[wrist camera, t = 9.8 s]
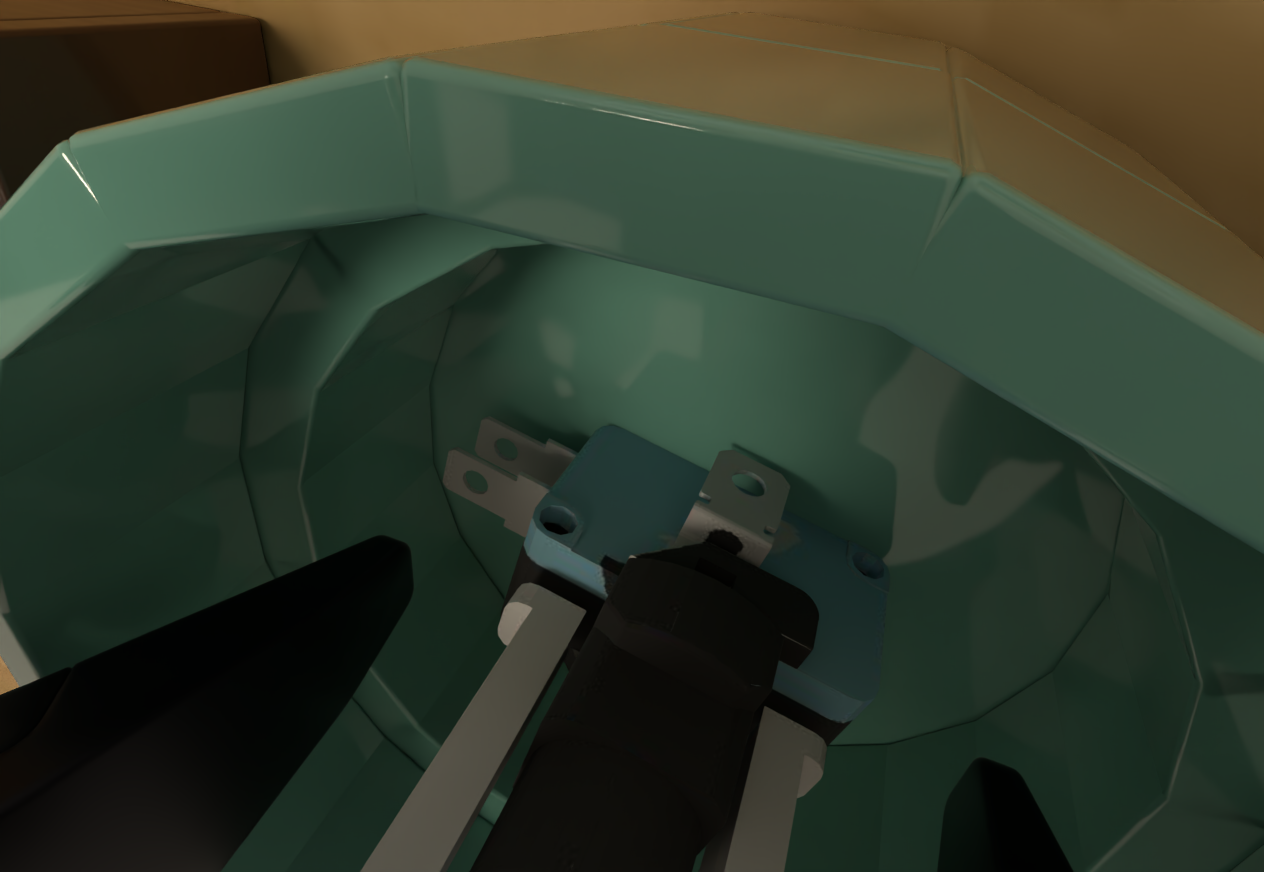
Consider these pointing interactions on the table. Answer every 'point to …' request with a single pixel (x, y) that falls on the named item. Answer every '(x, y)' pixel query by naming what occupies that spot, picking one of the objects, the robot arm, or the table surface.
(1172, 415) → the teal wide round container
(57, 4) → the wooden box
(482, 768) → the push button
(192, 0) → the table surface
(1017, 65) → the table surface
